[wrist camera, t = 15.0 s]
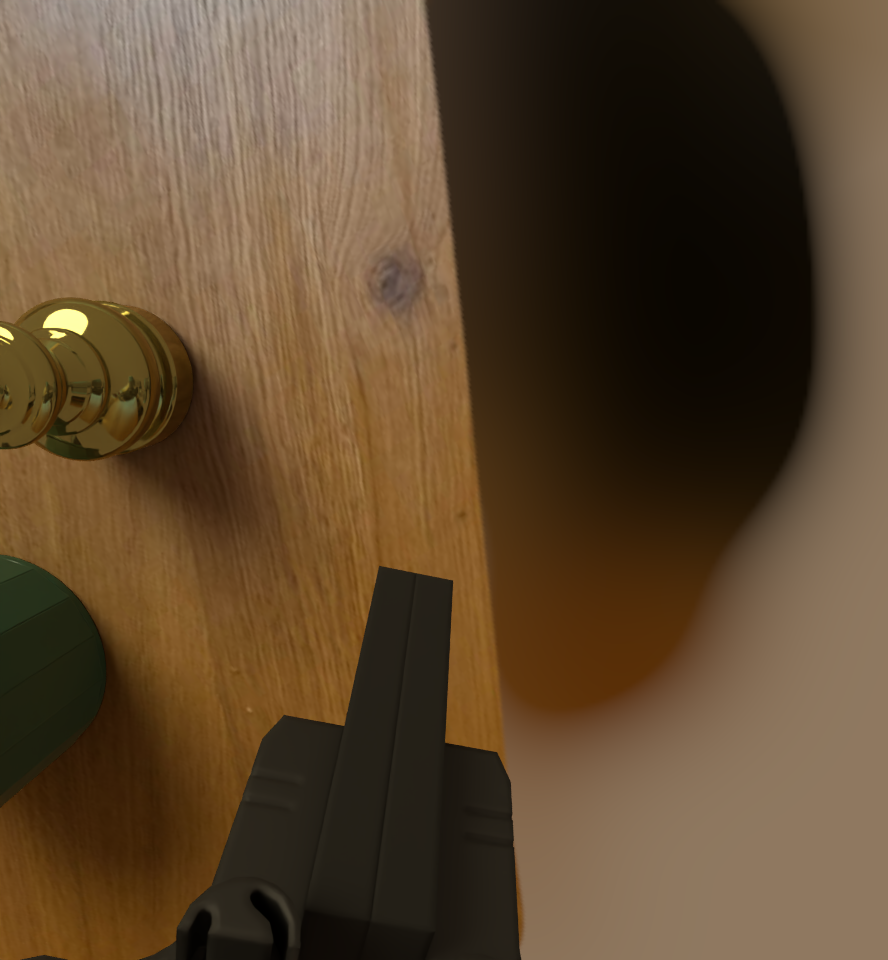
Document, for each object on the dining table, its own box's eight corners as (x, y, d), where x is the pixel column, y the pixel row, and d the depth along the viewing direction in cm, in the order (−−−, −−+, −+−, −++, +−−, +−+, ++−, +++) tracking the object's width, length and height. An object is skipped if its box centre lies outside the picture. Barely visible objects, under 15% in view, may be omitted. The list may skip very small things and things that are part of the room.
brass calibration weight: (212, 435, 34) (90, 468, 25) (83, 460, 36) (-84, 500, 26) (176, 290, 33) (32, 263, 24) (43, 320, 34) (-147, 306, 25)
